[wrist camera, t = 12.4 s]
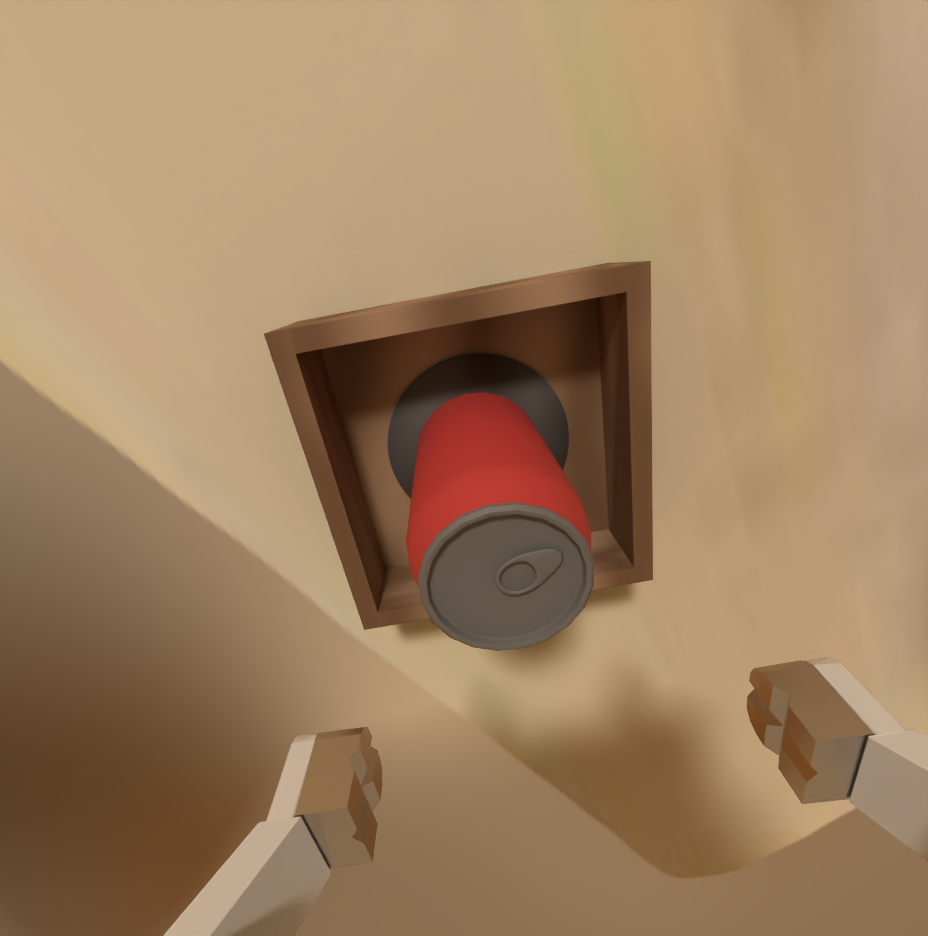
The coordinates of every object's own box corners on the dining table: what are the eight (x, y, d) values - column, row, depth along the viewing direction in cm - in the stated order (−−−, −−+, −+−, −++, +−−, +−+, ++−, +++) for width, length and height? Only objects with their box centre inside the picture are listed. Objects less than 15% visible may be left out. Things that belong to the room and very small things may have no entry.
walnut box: (608, 262, 23) (650, 261, 18) (619, 531, 29) (652, 579, 25) (298, 321, 23) (263, 333, 19) (375, 574, 30) (364, 629, 25)
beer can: (557, 464, 26) (644, 607, 15) (458, 520, 27) (472, 692, 16) (499, 365, 23) (553, 448, 12) (393, 430, 25) (357, 560, 14)
